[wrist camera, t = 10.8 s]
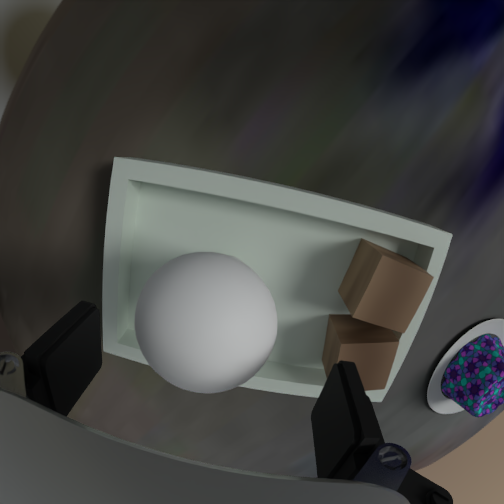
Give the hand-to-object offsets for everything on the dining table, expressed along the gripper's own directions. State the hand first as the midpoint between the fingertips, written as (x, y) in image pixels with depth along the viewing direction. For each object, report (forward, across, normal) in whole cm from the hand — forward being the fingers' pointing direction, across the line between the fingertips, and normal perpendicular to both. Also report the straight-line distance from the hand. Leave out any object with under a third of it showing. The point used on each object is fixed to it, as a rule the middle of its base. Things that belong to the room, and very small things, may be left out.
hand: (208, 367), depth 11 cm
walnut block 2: (+10, -9, +3) cm, 14 cm away
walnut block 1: (+10, -9, -2) cm, 14 cm away
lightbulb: (+10, 0, 0) cm, 10 cm away
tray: (+11, -2, +1) cm, 11 cm away
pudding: (+12, -25, +6) cm, 29 cm away
